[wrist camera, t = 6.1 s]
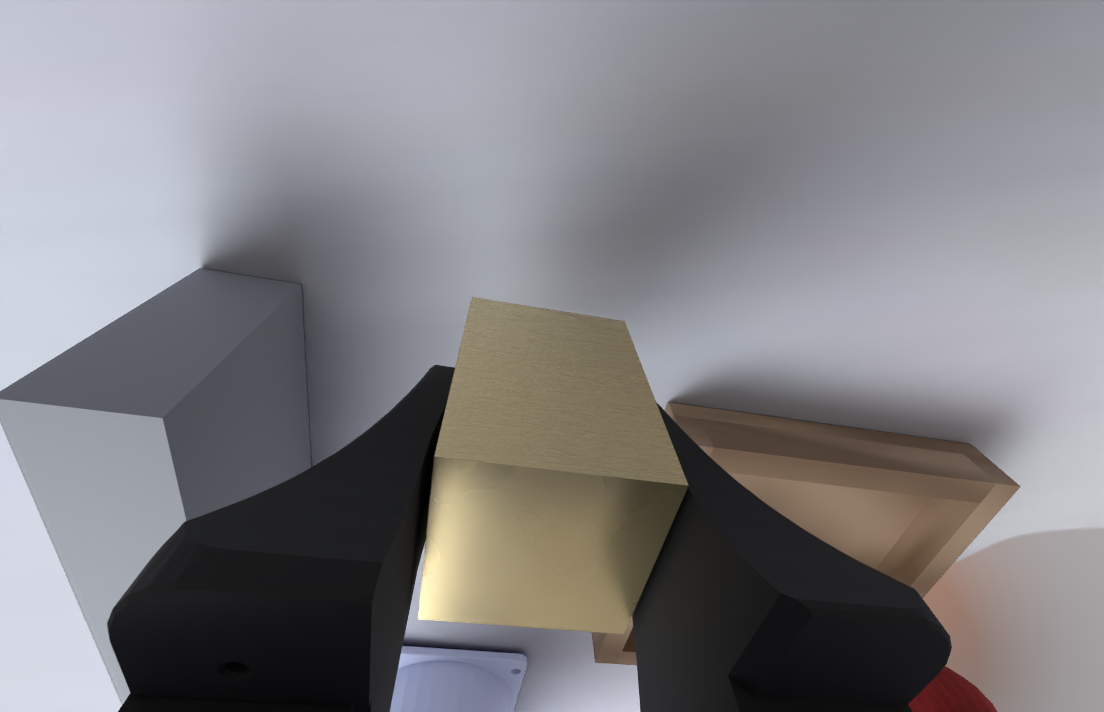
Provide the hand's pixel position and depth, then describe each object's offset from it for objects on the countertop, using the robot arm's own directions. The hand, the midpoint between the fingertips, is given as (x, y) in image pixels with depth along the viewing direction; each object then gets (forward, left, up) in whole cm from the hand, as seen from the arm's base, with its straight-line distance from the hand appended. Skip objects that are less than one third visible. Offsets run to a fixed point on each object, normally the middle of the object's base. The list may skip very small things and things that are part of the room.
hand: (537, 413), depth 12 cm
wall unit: (-7, +9, -5) cm, 12 cm away
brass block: (0, 0, -2) cm, 2 cm away
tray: (-9, -12, -5) cm, 16 cm away
